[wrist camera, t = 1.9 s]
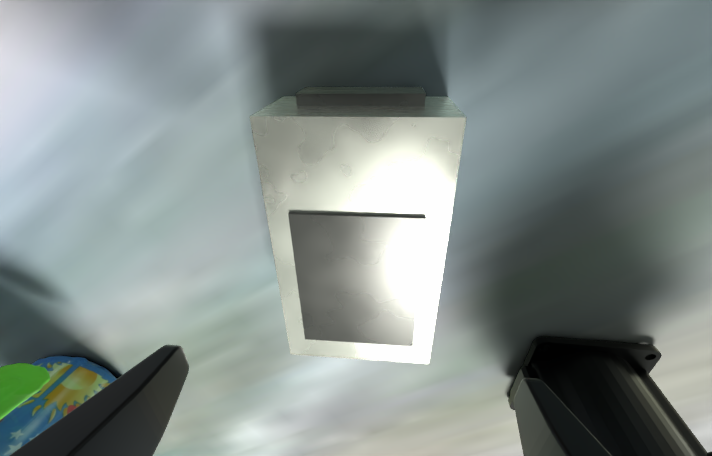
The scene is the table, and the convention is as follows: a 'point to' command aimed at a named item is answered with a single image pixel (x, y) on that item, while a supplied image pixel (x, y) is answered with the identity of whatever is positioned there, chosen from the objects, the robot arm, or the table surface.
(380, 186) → the drive
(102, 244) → the table surface
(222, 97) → the table surface
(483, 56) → the table surface
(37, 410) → the snack cup
